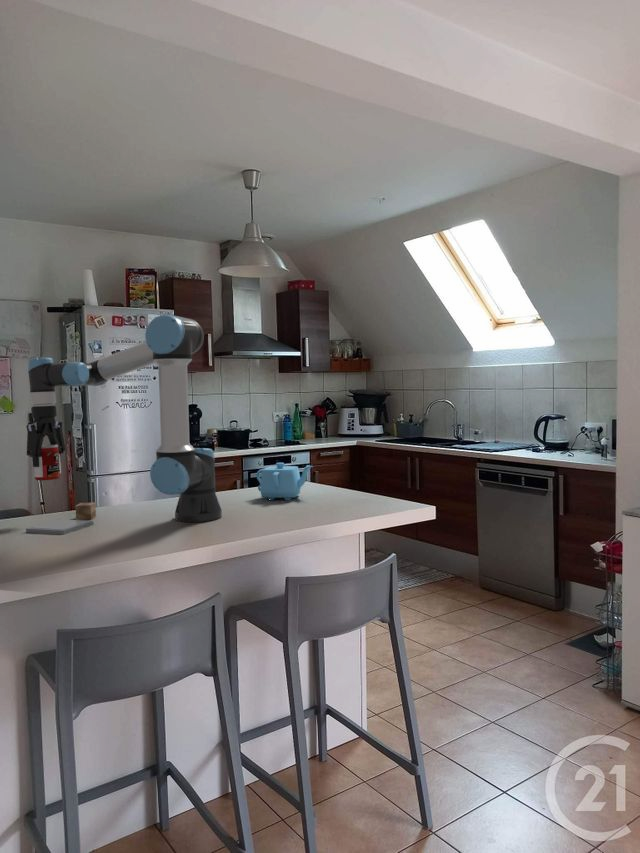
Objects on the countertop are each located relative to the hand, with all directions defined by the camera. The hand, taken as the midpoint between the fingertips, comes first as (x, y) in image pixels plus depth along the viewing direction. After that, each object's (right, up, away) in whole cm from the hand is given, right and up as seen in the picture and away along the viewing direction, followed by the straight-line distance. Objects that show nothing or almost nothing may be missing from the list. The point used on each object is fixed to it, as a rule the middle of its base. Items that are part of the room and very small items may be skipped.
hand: (48, 475), depth 218 cm
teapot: (+76, -11, +34) cm, 84 cm away
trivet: (+8, -16, -9) cm, 20 cm away
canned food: (0, -1, 0) cm, 2 cm away
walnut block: (+10, -15, +5) cm, 19 cm away
